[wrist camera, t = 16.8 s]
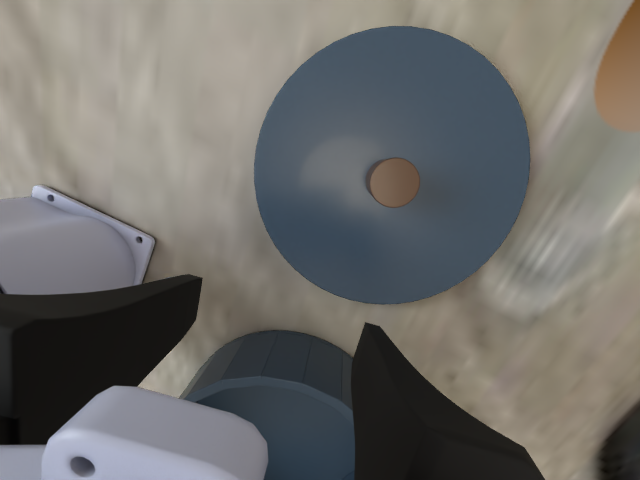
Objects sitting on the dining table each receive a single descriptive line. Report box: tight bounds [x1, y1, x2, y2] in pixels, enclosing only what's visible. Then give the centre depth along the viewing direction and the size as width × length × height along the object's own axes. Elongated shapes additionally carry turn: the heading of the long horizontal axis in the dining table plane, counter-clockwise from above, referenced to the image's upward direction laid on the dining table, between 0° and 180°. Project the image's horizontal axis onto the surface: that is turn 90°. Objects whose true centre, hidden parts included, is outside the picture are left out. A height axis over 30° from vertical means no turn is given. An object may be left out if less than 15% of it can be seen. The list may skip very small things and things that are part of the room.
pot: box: [179, 330, 355, 480], centre depth 23 cm, size 16×16×5 cm
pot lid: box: [254, 26, 530, 304], centre depth 18 cm, size 17×17×4 cm
